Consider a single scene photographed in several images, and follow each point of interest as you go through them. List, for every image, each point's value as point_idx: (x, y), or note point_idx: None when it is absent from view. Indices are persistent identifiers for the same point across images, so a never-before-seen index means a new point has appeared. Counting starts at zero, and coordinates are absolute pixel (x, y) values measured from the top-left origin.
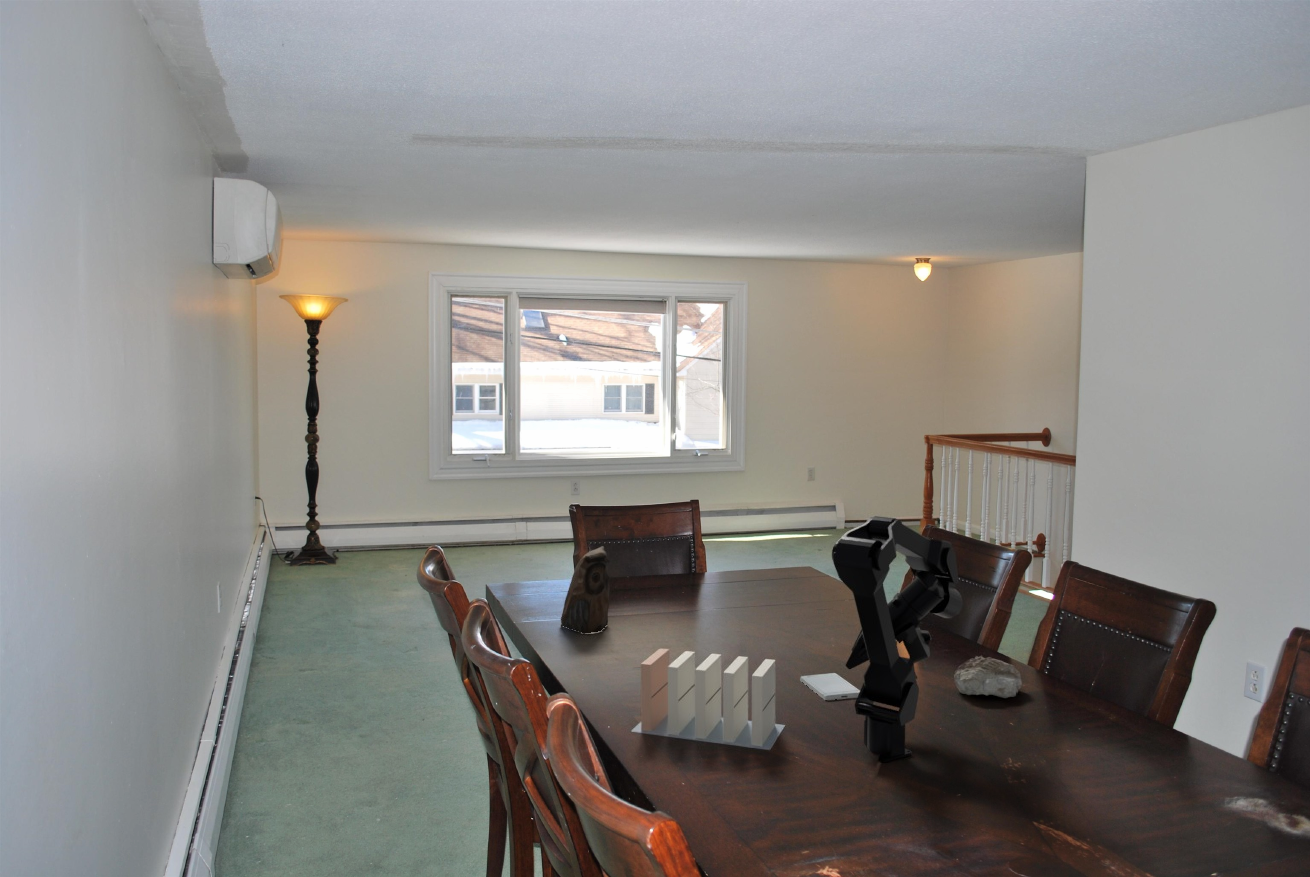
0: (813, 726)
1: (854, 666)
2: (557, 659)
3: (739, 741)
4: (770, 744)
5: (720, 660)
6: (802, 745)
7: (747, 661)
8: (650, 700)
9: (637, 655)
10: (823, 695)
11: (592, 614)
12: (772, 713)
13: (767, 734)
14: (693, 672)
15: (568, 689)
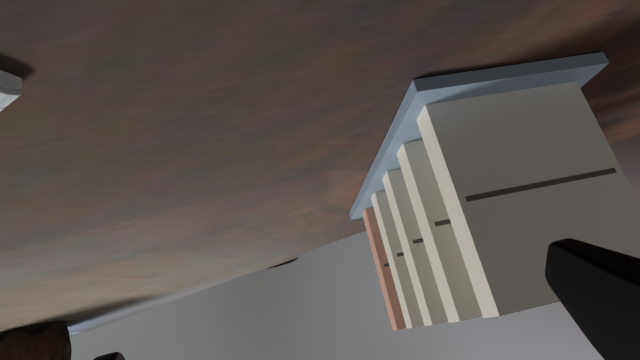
0: (371, 28)
1: (629, 261)
2: (184, 293)
3: None
4: (569, 72)
5: (435, 309)
6: (560, 7)
7: (464, 308)
8: None
9: (92, 293)
10: (9, 103)
11: (56, 352)
12: (477, 144)
13: (521, 99)
14: (411, 281)
15: (286, 260)
